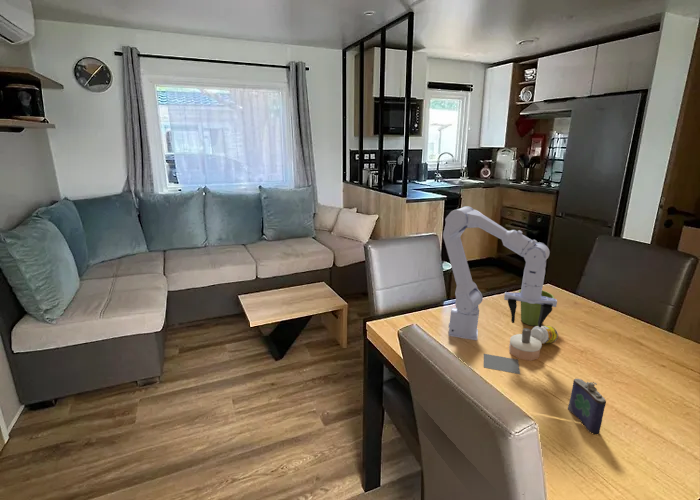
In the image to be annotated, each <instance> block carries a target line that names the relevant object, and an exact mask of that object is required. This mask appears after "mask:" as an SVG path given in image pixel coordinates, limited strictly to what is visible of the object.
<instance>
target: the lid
mask: <svg viewBox="0 0 700 500" xmlns="http://www.w3.org/2000/svg"><path fill="white" fill-rule="evenodd" d="M531 330H532V329H530V328H527V327H526V328H523V329H522V333H517V334H513V335H511V336H510V338H509V344H511V345H512V346H513V347H515V348H516V349H519V350H522V351H526V352H535V351H538V350H540V351H541V349H542V346H543V345H542V343H541V341H540V340H539V339H537V338H536V337H533V336H531Z"/></svg>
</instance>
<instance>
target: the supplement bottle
mask: <svg viewBox="0 0 700 500" xmlns="http://www.w3.org/2000/svg"><path fill="white" fill-rule="evenodd" d="M530 330H531V336H533V337H536V338H537V339H539V340H540V341H541V343H542V344H551V343H554V342H556V341H557V340H558V337H559V334H558V331H557V329H556V328H555V327H554V326H551V325H542V326H541V327H539V326H534V327H532V329H530Z"/></svg>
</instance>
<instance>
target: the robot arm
mask: <svg viewBox="0 0 700 500" xmlns="http://www.w3.org/2000/svg"><path fill="white" fill-rule="evenodd" d="M444 220H445V226H444V228H443V229H444V230H443V232H442V237H443V241H444V244H445V248H446V253H447V256H448V259H449V263H450V266H451V270H452V275H453V276H454V281H455V284H456V286H455V287H456V288H455V293H454V295H455V301H454V303H455V305H454V306H455V307H451V308H450V309H451V310H450V315H449V316H450V318H449V323H448V336H449V337H453V338H459V339H460V338H461V339H464V340H465V339H467V340H470V341H471V340H472V341H478V337H479V335H478V333H479V329H478V325H479V323H478V322H479V318H480V317H479V315H480V308H479V306H480V304H482V302H483V294H482V292H481V291H480V290H479V288H478V286H477V284H476V283H475V281H473V279H472V275H471V270H470V267H469V263H468V259H467V256H466V253H465V249H464V245H463V242H462V238H461V236H462V234H463V233H465V230H466V229H473V228H474V229H475V228H479V229H481V230H483V231H484V232H486V233H488V234H490V235H492V236H494V237H495V238H498V239H500V240H501V242H502V246H504V247H505V248H507V249H509V250H510V251H512V252H513V253H515V254H517V255H518V256H520V257H522V258H523V259H524V261H525V264H524V269H523V276H522V281H521V287H520V288H521V293H519V292H509V291H508V292H507V291H505V292H504V296H503V297H504V298H503V299H504V301H507V304H508V307H509V311H510V314H511V321H510V322H511V323H512V324H515V320H516V319H515V318H516V312H517V306H518V305H517V303H518V302H521V301H522V302H528V303H531V304H535V303H536V304H541V310H540V316H539V320H538V326H539V327H541V326H543V324H544V321H545V320H546V318H547V317H548V316H549V314H551V313H552V311H553V308H556V307H557V305H558V304H557V303H558V300H557V298H555V297H554V298H549V297H545V296H541V293H542V290H543V286H544V281H545V275H546V267H547V259H549V257H550V253H551V251H550V249H549V247H548V246H547V245H546V244H545V243H544V242H540V241H539V242H538V241H537V240H536V239H531V238H529V237H528V236H526V235H524V234H523V231H522V230H520V229H519V230H516V229H511V230H508V229H506V228H505V227H503V226H502V225H500V224H499V223H497V222H496V221H495V220H492V219H491V218H490V217H488V216H486V215H484V214H483V213H482V212H480V211H479V210H477V209H474V208H473V207H471V206H467V205H464V206H462V207H461V208H457V209H454V210H451V211H450V212H449V213H448V215H446V217H445V219H444Z"/></svg>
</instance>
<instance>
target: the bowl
mask: <svg viewBox="0 0 700 500" xmlns="http://www.w3.org/2000/svg"><path fill="white" fill-rule="evenodd" d="M508 348H509V351H508V352H509V354H510V355H512V356H514V357H515V358H516V359H518V360H525V361H534V360H537V359H540V354H541V349H540V350H538V351H535V352H526V351H522V350H519V349H516V348H515V347H513V346H512V345H511V344H510V343H509V345H508Z"/></svg>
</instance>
